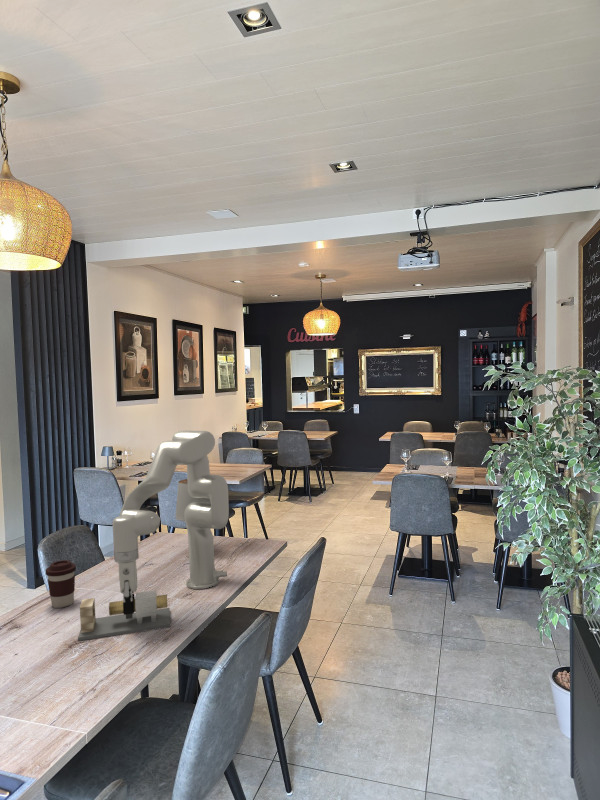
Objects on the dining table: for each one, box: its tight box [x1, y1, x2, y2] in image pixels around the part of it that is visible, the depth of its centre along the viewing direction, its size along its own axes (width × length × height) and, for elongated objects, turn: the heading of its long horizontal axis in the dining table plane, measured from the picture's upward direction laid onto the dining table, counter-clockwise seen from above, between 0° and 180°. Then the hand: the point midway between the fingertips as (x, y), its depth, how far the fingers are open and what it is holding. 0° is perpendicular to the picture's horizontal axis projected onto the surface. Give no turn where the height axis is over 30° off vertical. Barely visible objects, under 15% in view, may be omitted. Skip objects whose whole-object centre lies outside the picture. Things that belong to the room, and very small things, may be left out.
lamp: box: [174, 478, 210, 522], centre depth 242 cm, size 19×19×34 cm
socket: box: [79, 597, 97, 633], centre depth 170 cm, size 4×7×8 cm, turn 15°
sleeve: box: [134, 589, 157, 624], centre depth 175 cm, size 6×6×8 cm
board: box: [77, 607, 171, 642], centre depth 174 cm, size 28×13×1 cm, turn 105°
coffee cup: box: [45, 559, 77, 609], centre depth 193 cm, size 10×10×15 cm
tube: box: [108, 594, 169, 619], centre depth 174 cm, size 18×5×6 cm, turn 105°
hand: (129, 609), depth 174 cm, fingers closed on tube, 5 cm apart
